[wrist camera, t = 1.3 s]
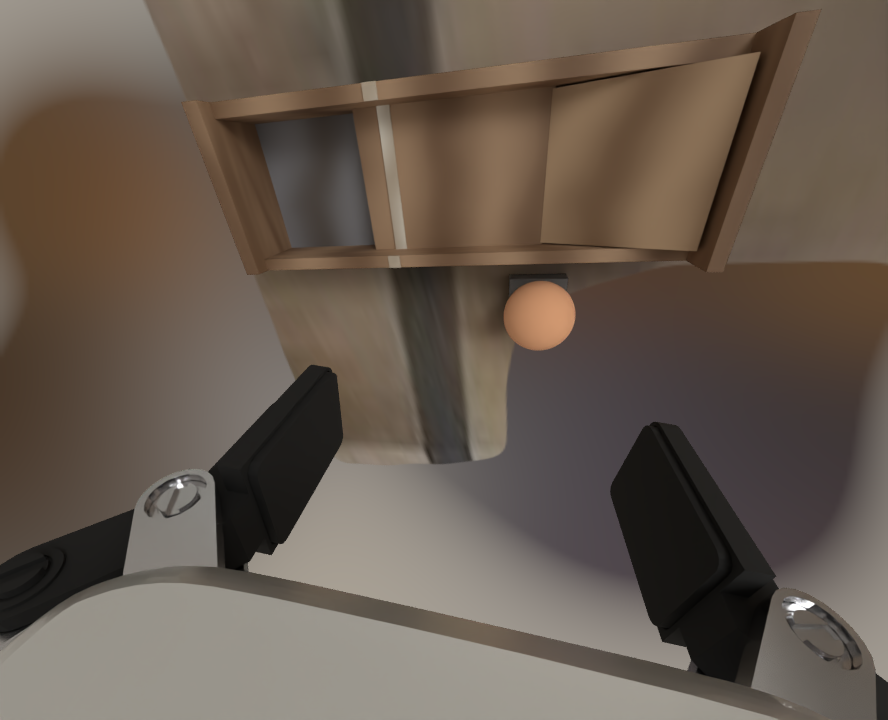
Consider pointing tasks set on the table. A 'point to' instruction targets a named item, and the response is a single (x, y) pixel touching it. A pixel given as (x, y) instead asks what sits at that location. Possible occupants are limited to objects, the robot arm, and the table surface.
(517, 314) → the ball
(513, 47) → the table surface
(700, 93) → the lane
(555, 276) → the grey square frame
